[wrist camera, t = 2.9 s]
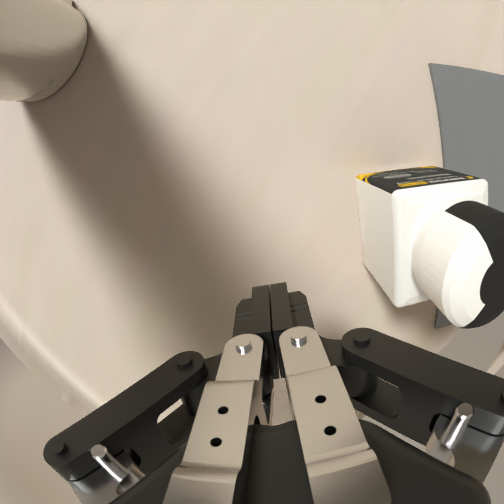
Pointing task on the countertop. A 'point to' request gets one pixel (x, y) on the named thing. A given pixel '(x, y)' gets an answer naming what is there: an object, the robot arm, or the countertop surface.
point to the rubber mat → (471, 129)
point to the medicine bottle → (434, 241)
